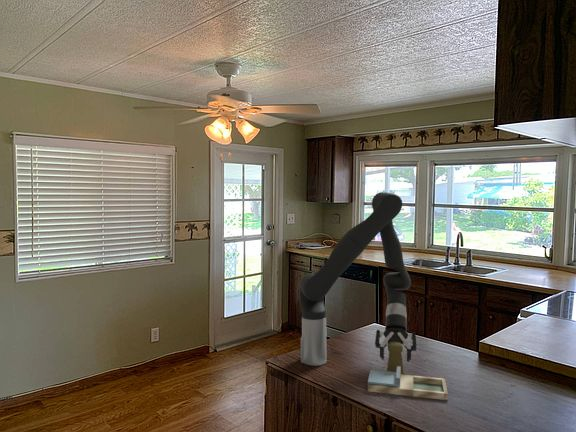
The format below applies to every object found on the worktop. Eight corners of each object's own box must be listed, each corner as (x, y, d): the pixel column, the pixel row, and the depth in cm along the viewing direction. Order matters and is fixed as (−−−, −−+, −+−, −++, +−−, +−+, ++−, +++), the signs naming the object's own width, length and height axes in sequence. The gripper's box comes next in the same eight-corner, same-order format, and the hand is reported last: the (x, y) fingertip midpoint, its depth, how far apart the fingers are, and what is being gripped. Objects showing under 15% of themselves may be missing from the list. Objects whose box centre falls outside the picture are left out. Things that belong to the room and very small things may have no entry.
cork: (404, 377, 144) (404, 346, 144) (386, 376, 146) (386, 345, 145) (403, 370, 150) (403, 340, 150) (386, 369, 152) (386, 339, 151)
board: (367, 391, 135) (367, 385, 135) (371, 377, 145) (370, 371, 145) (447, 400, 128) (447, 393, 128) (444, 384, 139) (444, 378, 139)
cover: (367, 383, 136) (367, 375, 135) (370, 371, 145) (370, 363, 145) (399, 386, 133) (399, 378, 133) (400, 374, 142) (400, 366, 142)
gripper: (376, 311, 156) (373, 353, 146) (416, 314, 153) (416, 357, 142) (377, 321, 162) (375, 362, 151) (416, 324, 158) (416, 366, 147)
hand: (395, 359), depth 147 cm, fingers open, 8 cm apart
